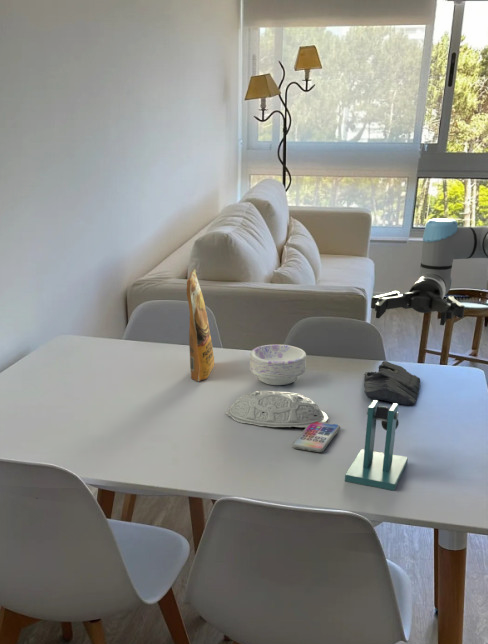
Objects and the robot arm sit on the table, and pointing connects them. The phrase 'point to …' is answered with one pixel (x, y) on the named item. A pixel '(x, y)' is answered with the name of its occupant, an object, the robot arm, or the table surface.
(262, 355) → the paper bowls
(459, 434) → the table surface
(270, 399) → the carved stone relief
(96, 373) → the table surface
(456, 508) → the table surface
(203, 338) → the pancake mix bag
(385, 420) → the lever
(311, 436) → the smartphone
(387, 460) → the bracket
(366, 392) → the dark slate chunk
